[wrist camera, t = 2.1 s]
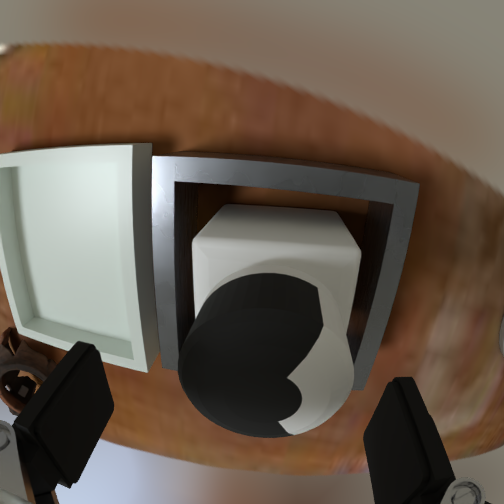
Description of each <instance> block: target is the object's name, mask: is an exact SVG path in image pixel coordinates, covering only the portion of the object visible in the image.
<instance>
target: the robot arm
mask: <svg viewBox="0 0 504 504" xmlns="http://www.w3.org/2000/svg"><path fill="white" fill-rule="evenodd" d="M499 345H500V350H501V353H502V355H503V357H504V317H503V320H502V323H501V329H500V334H499ZM113 410H114V402H113V398H112V395H111V392H110V388H109V385H108V381H107V378H106V374H105V370H104V367H103V363H102V359H101V355H100V352H99V350H97V349H96V347H95V345H94V344H90V343H86V342H82V341H77V342H76V343H75V344H74V345H73V347H72V348H71V349H70V350H69V351H68V353H67V354H66V355H65V356H64V357H63V359H62V360H61V361H60V362H59V364H58V365H57V366H56V367H55V368H54V370H53V371H52V372H51V373H50V375H49V376H48V377H47V378H46V380H45V381H44V382H43V384H42V385H41V386H40V387H39V389H38V390H37V391H36V393H35V394H34V395H33V396H32V398H31V399H30V400H29V402H28V403H27V404H26V406H25V407H24V408H23V410H22V411H21V412H20V414H19V415H18V417H17V418H16V419H15V421H14V424H13V425H12V426H11V425H10V424H9V423H7V422H5V421H2V420H0V504H59V502H58V499H57V495H56V493H55V488H56V486H57V484H61V485H63V486H65V487H67V488H69V489H70V488H71V486H72V484H73V483H76V482H78V480H79V478H80V476H81V474H82V472H83V470H84V468H85V466H86V464H87V462H88V460H89V458H90V456H91V454H92V452H93V450H94V448H95V446H96V444H97V442H98V440H99V438H100V436H101V434H102V432H103V430H104V428H105V427H106V425H107V423H108V421H109V419H110V417H111V415H112V413H113ZM363 441H364V446H365V451H366V456H367V462H368V467H369V472H370V477H371V483H372V489H373V495H374V501H375V504H491V503H489V502H486V501H485V498H486V497H485V491H484V489H483V487H482V485H481V484H480V483H479V482H478V481H476V480H474V479H472V478H468V477H464V478H459V479H456V478H455V476H454V473H453V470H452V467H451V464H450V462H449V459H448V456H447V454H446V451H445V448H444V446H443V443H442V441H441V438H440V436H439V433H438V431H437V428H436V426H435V423H434V421H433V419H432V417H431V415H429V413H428V411H427V408H426V406H425V404H424V401H423V399H422V397H421V394H420V392H419V390H418V388H417V385H416V383H415V381H414V379H413V378H412V377H395V378H394V379H393V381H392V382H389V383H388V384H387V386H386V388H385V391H384V393H383V395H382V397H381V399H380V401H379V404H378V406H377V408H376V410H375V412H374V414H373V416H372V418H371V420H370V422H369V424H368V426H367V428H366V430H365V432H364V437H363Z"/></svg>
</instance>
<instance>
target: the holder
mask: <svg viewBox="0 0 504 504" xmlns="http://www.w3.org/2000/svg"><path fill="white" fill-rule="evenodd" d="M198 183H212V184H226V185H239V186H250V187H261V188H272V189H282V190H291V191H301V192H309V193H318V194H326V195H334V196H342V197H349V198H356V199H363V200H370V201H369V207H368V214H367V220H366V225H365V231H364V237H363V242H362V247H361V260H360V266H359V272H358V278H357V283H356V289H355V294H354V299H353V304H352V309H351V314H350V319H349V324H348V328H347V333H346V336H347V340H348V344H349V349H350V353H351V357H352V361H353V366H354V381H353V386H352V389H351V390H363V389H364V387H365V384H366V382H367V379H368V377H369V374H370V371H371V369H372V366H373V363H374V361H375V358H376V355H377V352H378V349H379V346H380V343H381V340H382V337H383V334H384V331H385V328H386V325H387V322H388V319H389V316H390V312H391V309H392V306H393V302H394V299H395V295H396V292H397V288H398V284H399V281H400V277H401V273H402V269H403V265H404V261H405V257H406V252H407V248H408V244H409V239H410V234H411V230H412V225H413V220H414V215H415V209H416V204H417V198H418V192H419V186H420V184H419V183H417V182H414V181H412V180H409V179H407V178H404V177H401V176H399V175H396V174H394V173H390V172H384V171H379V170H373V169H366V168H360V167H354V166H347V165H340V164H333V163H325V162H317V161H309V160H300V159H291V158H281V157H270V156H259V155H246V154H231V153H214V152H191V151H179V152H173V153H167V154H162V155H156V156H152V239H153V265H154V283H155V298H156V311H157V322H158V333H159V343H160V352H161V361H162V368H166V369H171V370H176V371H178V358H179V353H180V351H181V349H182V346H183V344H184V342H185V340H186V338H187V336H188V334H189V332H190V329H191V327H192V325H193V323H194V321H195V303H194V283H193V258H192V242H193V239H194V238H195V237H196V235H197V209H198Z"/></svg>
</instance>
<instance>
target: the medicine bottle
mask: <svg viewBox="0 0 504 504" xmlns="http://www.w3.org/2000/svg"><path fill="white" fill-rule="evenodd" d="M192 258H193V283H194V303H195V321H194V323H193V325H192V327H191V329H190V332H189V334H188V336H187V338H186V340H185V342H184V344H183V346H182V349H181V351H180V353H179V358H178V375H179V380H180V383H181V385H182V388H183V390H184V392H185V393H186V395H187V397H188V398H189V400H190V401H191V402H192V404H193V405H194V406H195V408H196V409H197V410H198V411H199V412H200V413H201V414H203V415H204V416H205V417H206V418H208V419H209V420H210V421H212V422H214V423H215V424H217V425H219V426H221V427H223V428H225V429H227V430H230V431H233V432H235V433H239V434H243V435H247V436H253V437H263V438H277V437H286V436H292V435H296V434H300V433H303V432H306V431H308V430H311V429H313V428H315V427H317V426H319V425H321V424H322V423H323V422H325V421H326V420H328V419H329V418H330V417H331V416H332V415H333V414H334V413H335V412H336V411H338V410H339V409H340V407H341V406H342V405H343V404H344V402H345V401H346V399H347V398H348V396H349V394H350V392H351V389H352V386H353V381H354V366H353V361H352V357H351V353H350V349H349V344H348V340H347V336H346V333H347V328H348V324H349V319H350V314H351V309H352V304H353V299H354V294H355V289H356V283H357V278H358V272H359V266H360V260H361V250H360V249H359V247H358V245H357V244H356V242H355V240H354V239H353V237H352V235H351V234H350V232H349V231H348V229H347V227H346V226H345V224H344V222H343V221H342V219H341V218H340V216H339V215H338V213H337V212H335V211H329V210H316V209H303V208H289V207H274V206H257V205H239V204H225V205H224V206H223V207H222V208H221V209H220V210H219V211H218V212H217V213H216V214H215V215H214V216H213V218H212V219H211V220H210V221H209V222H208V223H207V224H206V225H205V226H204V228H203V229H202V230H201V231H200V232H199V233H198V234H197V235H196V237H195V238H194V239H193V242H192Z"/></svg>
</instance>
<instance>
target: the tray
mask: <svg viewBox="0 0 504 504" xmlns="http://www.w3.org/2000/svg"><path fill="white" fill-rule="evenodd" d="M151 166H152V143H119V144H94V145H76V146H62V147H50V148H40V149H30V150H22V151H13V152H7V153H2V154H0V268H1V272H2V277H3V281H4V285H5V289H6V293H7V297H8V301H9V304H10V308H11V311H12V315H13V318H14V321H15V324H16V327H17V331H18V333H19V334H22V335H24V336H27V337H30V338H32V339H35V340H38V341H41V342H43V343H46V344H49V345H52V346H55V347H58V348H61V349H64V350H67V351H69V350H70V349H71V348H72V347H73V345H74V344H75V343H76V342H77V341H82V342H86V343H90V344H94V345H95V347H96V349H97V350H99V352H100V355H101V359H102V361H104V362H107V363H111V364H115V365H118V366H122V367H126V368H130V369H134V370H138V371H143V372H147V373H148V372H149V370H150V368H151V366H152V364H153V362H154V361H155V359H156V357H157V355H158V354H159V352H160V347H159V338H158V328H157V317H156V305H155V291H154V275H153V256H152V224H151Z"/></svg>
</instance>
